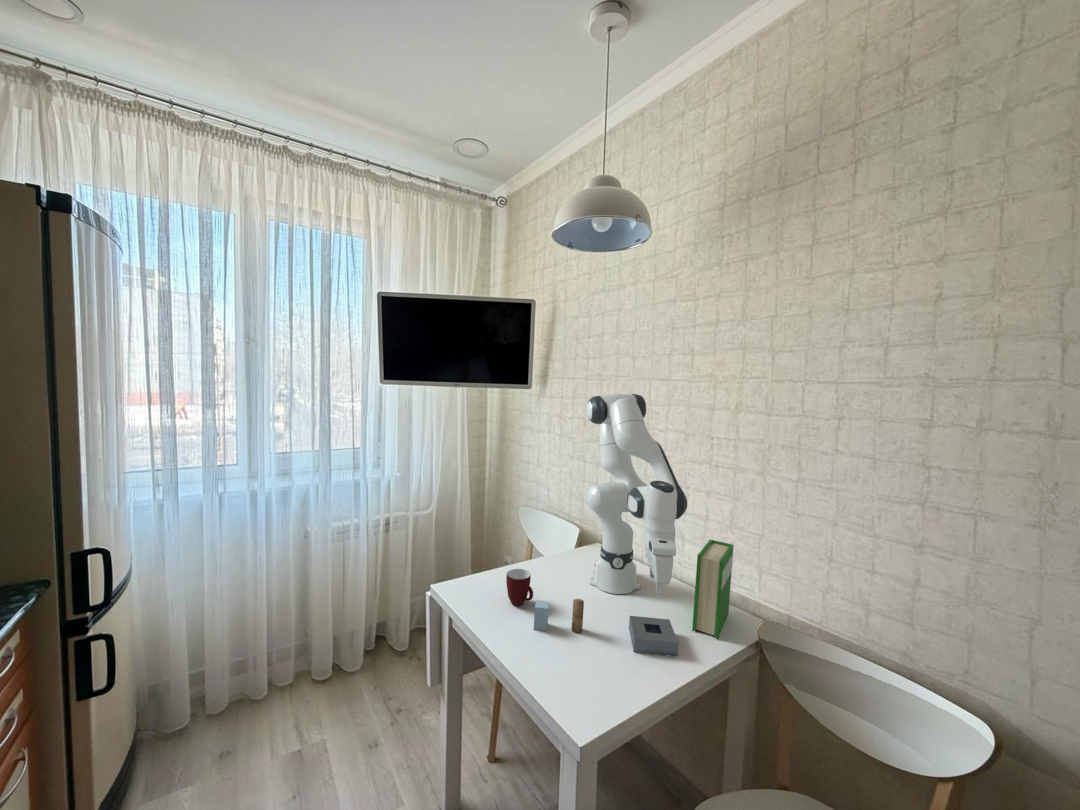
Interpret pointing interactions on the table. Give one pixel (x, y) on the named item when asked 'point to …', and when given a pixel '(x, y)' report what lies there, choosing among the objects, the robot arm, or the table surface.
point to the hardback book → (712, 587)
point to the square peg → (541, 615)
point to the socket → (653, 636)
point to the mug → (519, 586)
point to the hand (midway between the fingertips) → (655, 584)
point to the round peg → (577, 615)
